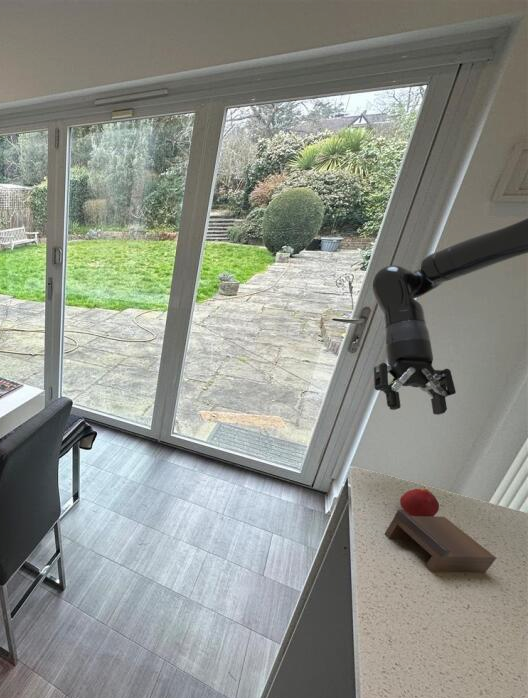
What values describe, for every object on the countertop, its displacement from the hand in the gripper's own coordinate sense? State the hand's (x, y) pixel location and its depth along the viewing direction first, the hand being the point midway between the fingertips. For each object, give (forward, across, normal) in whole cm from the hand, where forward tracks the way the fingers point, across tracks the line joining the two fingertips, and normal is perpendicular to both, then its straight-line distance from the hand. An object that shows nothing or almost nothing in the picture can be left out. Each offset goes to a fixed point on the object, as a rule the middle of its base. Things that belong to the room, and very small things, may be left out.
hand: (417, 411), depth 90 cm
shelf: (+30, -3, -2) cm, 30 cm away
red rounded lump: (+22, 0, +6) cm, 23 cm away
